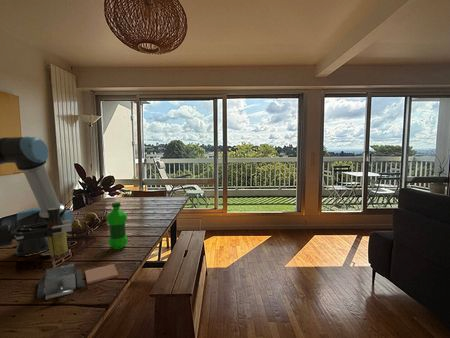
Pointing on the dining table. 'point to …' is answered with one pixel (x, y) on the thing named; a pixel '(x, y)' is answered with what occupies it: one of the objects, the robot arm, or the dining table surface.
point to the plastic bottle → (117, 227)
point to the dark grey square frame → (59, 281)
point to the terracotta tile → (101, 273)
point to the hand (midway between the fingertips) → (71, 225)
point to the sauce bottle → (56, 236)
